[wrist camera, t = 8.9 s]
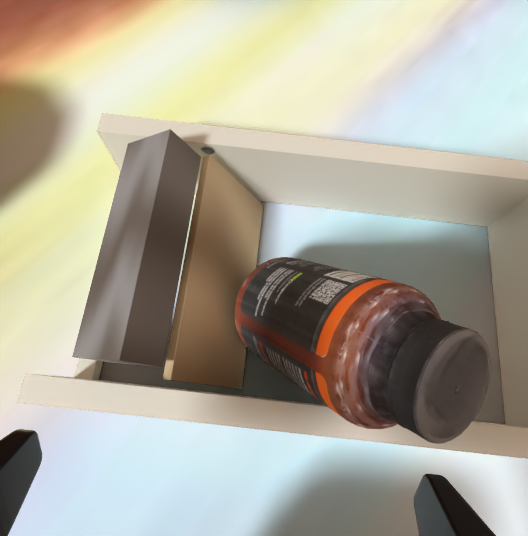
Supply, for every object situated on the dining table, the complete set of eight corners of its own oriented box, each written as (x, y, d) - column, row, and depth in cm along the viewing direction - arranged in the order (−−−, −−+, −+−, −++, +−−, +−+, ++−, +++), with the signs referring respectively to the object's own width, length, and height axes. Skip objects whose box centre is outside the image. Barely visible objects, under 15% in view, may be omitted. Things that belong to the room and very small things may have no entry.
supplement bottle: (293, 364, 23) (468, 484, 14) (212, 338, 20) (364, 470, 10) (330, 276, 24) (527, 332, 14) (257, 237, 20) (444, 275, 11)
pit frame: (528, 449, 22) (623, 468, 16) (76, 399, 21) (16, 402, 16) (502, 213, 26) (569, 166, 21) (132, 171, 26) (102, 113, 21)
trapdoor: (201, 383, 23) (241, 388, 22) (69, 368, 16) (117, 373, 14) (226, 211, 27) (263, 204, 26) (130, 135, 20) (172, 120, 18)
